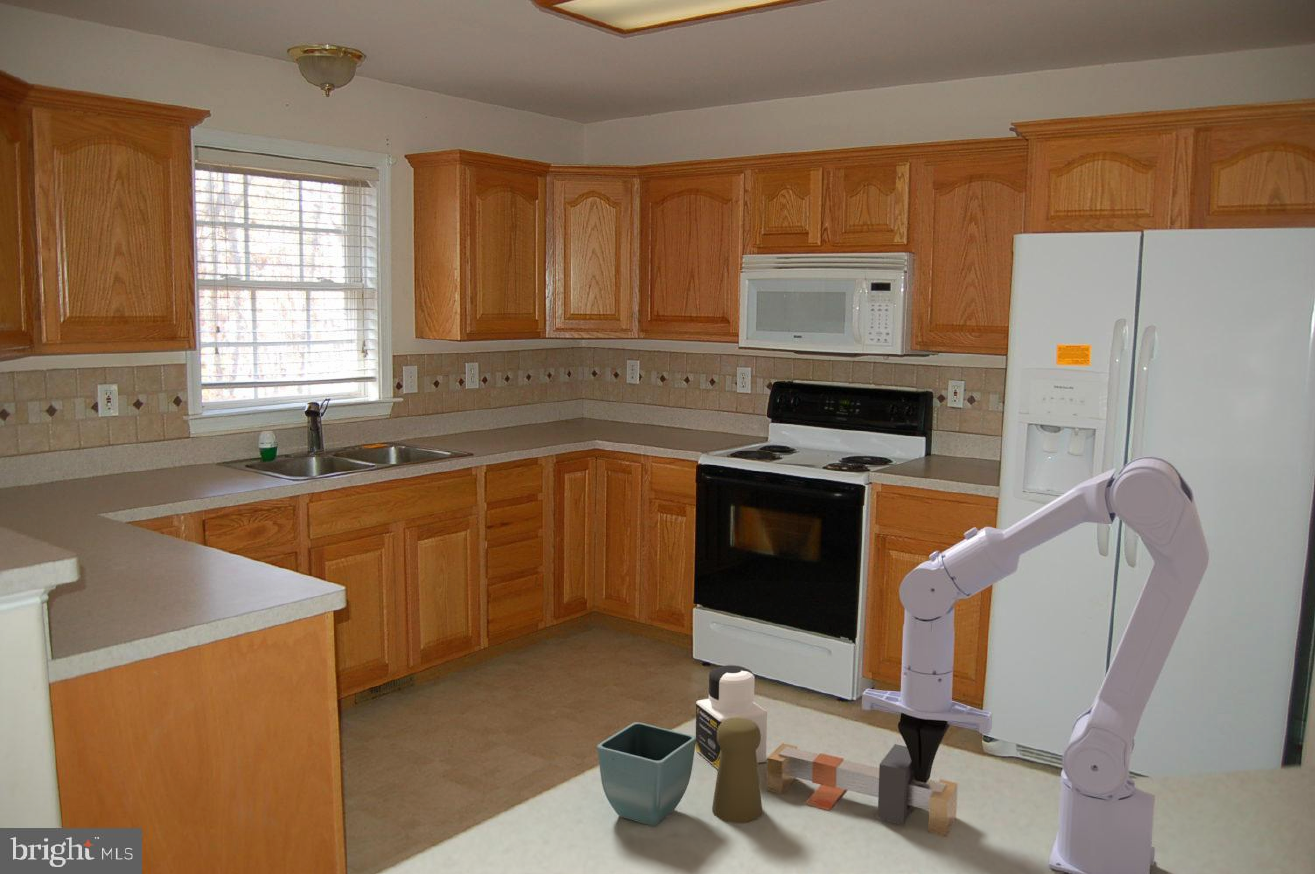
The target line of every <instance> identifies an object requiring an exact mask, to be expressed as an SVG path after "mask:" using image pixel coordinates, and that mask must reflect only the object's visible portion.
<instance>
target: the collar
mask: <svg viewBox="0 0 1315 874" xmlns="http://www.w3.org/2000/svg"><path fill="white" fill-rule="evenodd" d="M878 768H879V794H878V797H877V798H878V800H877V801H878V802H877V819H878V820H883V821H887V822H890V823H893V824H894V823H895V824H897V825H902V826H904V824H905V823H906V821H907V820H908V818H909V817H910V815H911V813H912V811H913V810H914V809H915V807H914V806H910V805H907V794H908V781H909V780H910V778H911V777H912V776H914V770H913V766H912V762H911V758H910V755H909V752H908V749H907V746H906V745H901V744H897V743H894V744H893V746H892V747H891V749H890V750H889V751H888V752H887V754H886V755H885V756H884V758H883V759H882V760H881V762H880V763H879V767H878Z"/></svg>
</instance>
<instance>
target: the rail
mask: <svg viewBox="0 0 1315 874" xmlns="http://www.w3.org/2000/svg"><path fill="white" fill-rule="evenodd" d="M796 779H801V780H804V781H809V782H811V783H813V784H816V785H819V786H818V787H817V789H816V790H815V791H814V792H813V793H812V795H811V796H810V797H809V798H808V799H807V800H806V802H805V805H807V806H811V807H814V808H818V809H822V810H826V811H830V810H832V808H833V806H834V805H835V804H836V802H837V801H838V800H839V799H840V798H841V797H842V795H843V794H844V793H845V791H849V792H853V793H858V794H862V795H867V796H869V797H875V798H878V794H879V767H878V766H877V767H876V766H872V765H868V764H865V763H864V764H863V763H859V762H856V761H850V760H847V759H844V758H843V757H839V756H838V757H837V756H833V755H829V754H825V753H821V752H820V753H816V752H812V751H809V750H808V751H807V750H802V749H798V746H797V745H792V744H789V743H784V742H782V743H781V744H780V745H779V746H778V747H777V748H776V749H775V750H774V751H772V752H771V753H770V755H768V757H766V791H768V792H774V793H776V794H779V795H782V794H783V793H784V792H785V791H786V790H787V789H788V788H789V787H790V786H791V784H792V783H793V782H794V781H795V780H796ZM957 800H958V782H955V781H950V780H946V779H939V781H938V780H933V779H930V778H929V779H928V781H927V783H922V782H918V781H915V777H914V776H912V777H911V778H910V780H909V781H908V794H907V805H910V806H914V808H918V809H922V810H926V811H928V833H933V834H935V835H936V834H937V835H940V836H944V837H947V836H948V834H949V832H950V830H951V828H952V826H953V824H954V823H955V820H956V818H957V808H958V807H957V804H958V803H957V802H958V801H957Z"/></svg>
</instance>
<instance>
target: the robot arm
mask: <svg viewBox="0 0 1315 874" xmlns="http://www.w3.org/2000/svg"><path fill="white" fill-rule="evenodd" d="M1117 471H1118V467H1114V468H1113V469H1110V470H1107V471H1105V472H1102V473H1100V474H1099V475H1096V476H1094V477H1091V478H1089V479H1087V480H1084V481H1083V482H1081V483H1079V484H1077V485H1076V486H1074V487H1073V488H1071V489H1069V490H1067V491H1065V492H1064V493H1063V494H1061V495H1060V496H1058V497H1057V498H1054V499H1053V500H1051V501H1050V502H1048V503H1046V504H1045V505H1043V506H1042V507H1040V508H1038V509H1037V510H1035V511H1033V512H1032V513H1030V514H1029V515H1027V516H1025V517H1024V518H1022V519H1021V520H1019V521H1018V522H1016V523H1014V524H1013V525H1010V526H1009V527H1007V528H1006V529H1001V528H995V527H993V526H985V527H983V528H981V529H980V530H979V529H978V528H977V527H975V526H974V527H972V528H971V529H969V530H967V531H966V532H964V533H963V536H964V538H965V539H962V540H961V541H959V542H957V543H956V544H953V546H950V547H949V548H947V549H946V550H944V551H942V552H941V553H940V551H939V550H935V551H934V552H933V553H931V554H930V555H929V556H928V557H929V560H926V561H923V562H922V563H920V564H919V565H917V566H916V567H915V568H913V569H912V570H911V571H910V572H909V573H908V574H906V575H905V577H904V578H903V579H902V581H901V583H900V586H899V588H898V589H899V593H898V594H899V600H900V602H901V604H902V606H903V608H904V620H903V623H904V624H903V626H902V647H901V648H902V650H901V651H902V652H901V653H902V654H901V675H900V676H901V677H900V680H901V681H900V691H896V690H895V691H892V690H880V689H871V688H866V689H865V690H864V691H863V692H862V695H861V696H862V697H861V710H865V711H872V710H876V711H880V712H886V713H890V714H894V715H900V718H899V722H898V723H897V728H898V732H899V734H900V735H901V738H902V739H903V741H904V743H905V746H906V747H907V749H908V752H909V755H910V758H911V762H912V766H913V770H914V777H915V781H918V782H922V783H927V781H928V779H929V780H930V777H931V774H932V769H933V765H934V762H935V761H934V760H935V758H936V754H937V752H938V750H939V747H940V745H941V743H942V741H943V739H944V737H945V734H947V731H948V729H949V727H950V726H956V727H960V728H965V729H969V730H974V731H978V733H979V734H981V735H982V734H983V735H989V734H990V733H991V730H992V724H993V723H992V722H993V713H992V712H991V711H986V710H982V709H979V708H976V707H973V706H970V705H966V704H964V703H960V702H957V701H955V700H953V699H952V698H953V682H954V681H953V678H954V677H953V675H954V659H955V658H954V656H955V655H954V653H955V635H956V634H955V633H956V631H955V607H954V605H955V604H956V603H957V602H959V600H960V599H963V600H965V599H968V598H972V597H973V596H975V595H976V594H978V593H980V592H982V591H984V590H985V589H987V588H988V587H990V586H992V585H994V584H996V583H998V582H1001V580H1003V579H1005V578H1007V577H1009V576H1010V575H1012V574H1015V573H1016V572H1017V570H1018V568H1019V567H1018V566H1019V563H1020V562H1019V561H1020V556H1021V555H1023V554H1025V553H1027V552H1029V551H1031V550H1032V549H1034V548H1037V547H1039V546H1040V545H1042V544H1044V543H1046V542H1049V541H1050V540H1052V539H1054V538H1055V537H1057V536H1060V535H1061V534H1063V533H1065V532H1067V531H1068V532H1069V530H1071V529H1073V528H1076V527H1077V526H1079V525H1081V524H1084V523H1092V524H1101V525H1112V524H1113V523H1114V521H1115V519H1116V517H1117V518H1118V519H1119V520H1120V521H1121V522H1122V523H1123V524H1125V525H1126V526H1127V527H1128V529H1131V530H1132V531H1133V532H1134V533H1135V534H1136V535H1138V536H1139V537H1140V539H1141V541H1142V543H1143V545H1144V547H1145V548H1146V550H1147V552H1148V554H1149V555H1150V556H1151V559H1152V560H1153V564H1152V566H1151V569H1150V571H1149V573H1148V576H1147V578H1146V580H1145V582H1144V585H1143V587H1142V590H1141V591H1140V594H1139V596H1138V599H1137V602H1136V603H1135V606H1134V609H1133V610H1132V613H1131V615H1130V618H1129V620H1128V622H1127V625H1126V628H1125V629H1124V632H1123V634H1122V636H1121V639H1120V641H1119V643H1118V646H1117V648H1116V651H1115V653H1114V655H1113V657H1112V660H1111V662H1110V663H1109V664H1110V665H1109V666H1108V669H1107V671H1106V674H1105V676H1104V679H1103V681H1102V684H1101V686H1100V688H1099V690H1098V691H1097V693H1096V696H1095V698H1094V700H1093V702H1092V703H1091V706H1090V707H1089V708H1088V709H1087V710H1085V711H1084V712H1083V713H1081V714H1079V716H1078V717H1076V719H1075V721H1074V723H1073V725H1072V728H1071V736H1070V738H1069V741H1068V744H1067V746H1066V747H1065V749H1064V751H1063V754H1062V759H1061V760H1062V762H1061V764H1062V770H1061V771H1060V788H1059V791H1060V792H1059V806H1058V807H1059V808H1058V825H1057V834H1056V837H1055V839H1054V840H1055V841H1054V844H1053V847H1052V850H1051V854H1050V856H1049V860H1048V867H1049V868H1050V869H1053V870H1056V871H1061V872H1064V873H1069V874H1150V871H1151V866H1154V865H1155V856H1156V847H1155V846H1153V835H1154V818H1155V817H1154V816H1155V804H1156V803H1155V802H1156V794H1153V793H1150V792H1147V791H1144V790H1142V789H1139V788H1137V787H1136V784H1135V783H1136V782H1135V781H1134V779H1132V776H1131V775H1130V761H1131V755H1132V753H1133V750H1134V748H1135V736H1136V733H1137V730H1138V727H1139V724H1140V721H1141V719H1142V715H1143V713H1144V711H1145V709H1146V706H1147V704H1148V702H1149V700H1150V697H1151V695H1152V693H1153V691H1154V688H1155V686H1156V684H1157V681H1158V679H1159V677H1160V674H1161V673H1162V670H1163V668H1164V666H1165V663H1166V661H1167V659H1168V657H1169V654H1170V652H1171V650H1172V648H1173V645H1174V643H1175V640H1176V639H1177V636H1178V634H1179V632H1180V630H1181V628H1182V625H1183V623H1184V621H1185V618H1186V617H1187V614H1188V612H1189V609H1190V606H1191V605H1192V602H1193V600H1194V598H1195V596H1196V594H1197V591H1198V589H1199V586H1200V584H1201V582H1202V579H1203V577H1204V575H1205V573H1206V571H1207V568H1208V566H1209V558H1210V552H1209V547H1208V543H1207V540H1206V537H1205V533H1204V529H1203V526H1202V524H1201V518H1200V516H1199V512H1198V510H1197V509H1198V508H1197V504H1196V501H1195V497H1194V494H1193V490H1192V488H1191V486H1190V485H1189V484H1188V483H1187V481H1186V480H1185V479H1184V477H1183V476H1182V474H1181V473H1180V471H1179V470H1178V469H1177V468H1176V467H1175V465H1173V464H1172V463H1171V462H1170V461H1168V460H1166V459H1164V458H1161V457H1158V456H1153V455H1150V456H1149V455H1148V456H1147V455H1146V456H1139V457H1136V458H1134V459H1132V460H1130V461H1128V462H1127V463H1126V464H1125V465H1123V467H1122V468H1121V469H1120V471H1119V473H1118V474H1117V476H1116V477H1114V476H1115V474H1116V472H1117Z"/></svg>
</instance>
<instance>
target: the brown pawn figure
mask: <svg viewBox="0 0 1315 874" xmlns="http://www.w3.org/2000/svg"><path fill="white" fill-rule="evenodd" d="M760 741H761V734H760V729H759V727H758V725H757V724H756V723H755V722H753V721H751V720H749V719H746V718H737V717H736V718H729V719H726V720H724V721H722V722H721V724H720V725H719V727H718V729H717V742H718V745H719V746H720V748H721V753H720V760H719V766H718V769H717V774H716V780H715V786H714V793H713V800H712V808H711V812H712V814H713V816H715V818H716V817H717V818H718V819H719V820H722V821H724V822H728V823H733V824H746V823H751V822H754V821H757V820H758V819H760V818H761V817H762V815H763V813H764V812H763V804H762V803H763V802H762V797H761V795H762V793H761V787H760V777H759V768H758V763H757V758H756V749H757V748H758V747H759V744H760Z"/></svg>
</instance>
